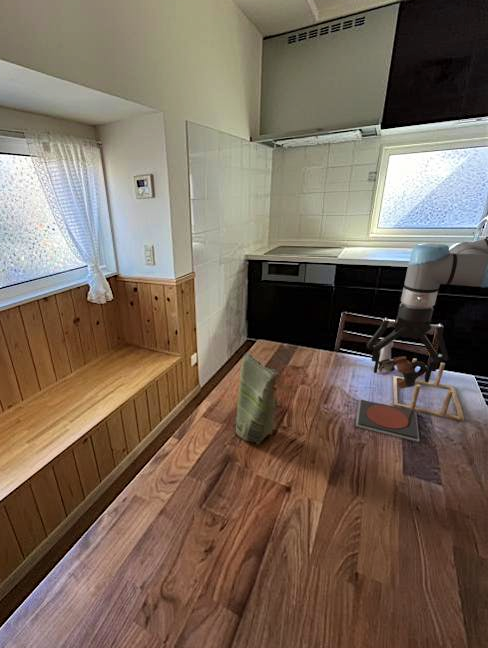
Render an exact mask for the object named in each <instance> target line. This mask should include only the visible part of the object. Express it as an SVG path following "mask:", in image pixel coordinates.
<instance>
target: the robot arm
mask: <svg viewBox="0 0 488 648" xmlns="http://www.w3.org/2000/svg"><path fill="white" fill-rule="evenodd" d="M441 285H450V286H463V287H465V286H466V287H476V288H477V287H479V288H488V237H486V238H483V239H479V240H475V241H472V242H468V241H462V242H457V243H455V244H452V245H451V246H449V245H447V244H444V243H435V242H427V243H426V242H424V243H418V244H416V245H414V246H413V248H412V250H411V254H410V258H409V261H408V264H407V269H406V274H405V279H404V283H403V288H402V293H401V296H400V302H401V303H399V307H398V311H397V315H396V319H389V318H388V317H383V319H382V322H381V325H380V326H379V328H378V329H377V330H376V332H375V333H374V334H373V335H372V337H370V340H369V341H368V342H367V343H366V349H367V350H370V351H372V355H371V362H373V363H374V362H375V366H374V365H373V374H377V373H378V372H377V368H378V364H379V359H380V354H381V349H382V348H384V347H385V346H386V345H388V344H389V343H390V342H392V341H393V342H394V341H395V340H396V339H398V338H400V337H402V338H410V339H413V340H414V339H415V340H417V339H419V340H420V341H421V342H422V343H423V345H424V347H425V348H426V350H427V352H428V353H429V355H430V357H429V358H428V363H427V365H426V367H427V370H426V372H425V373H424V378H423V379H424V381H425V382H430V378H431V374H432V372H436V371H437V370H438V367H439V365H440V364H441V362H448V361H450V358H449V355H448V350H447V346H446V343H445V339H444V330H445V328H444V325H443V324H442V323H438V324H431V321H432V317H433V312H434V307H435V305H436V301H437V296H438V293H439V291H440V286H441ZM391 326H393V327H394V328H395V329H393V331H392V332H391V333H389V334H388V335H386V336H385V337H384V338H382V339H383V340H382V339H381V340H380V338H381V337H382V336H383V334H384V333H385V332H386V330H387V328H391ZM429 331H432V332H433V334H435V335H436V338H437V339H436V340H437V342H438V346H439V349H440V353H439V354H438V352H437V350H436V349H435V347H434V346H433V344H432V342H431V341H430V340H429V338H428V336H427V334H426V333H428V332H429ZM379 340H380V341H379ZM378 341H379V342H378ZM439 363H440V364H439Z"/></svg>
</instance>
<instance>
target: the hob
mask: <svg viewBox="0 0 488 648" xmlns="http://www.w3.org/2000/svg"><path fill="white" fill-rule="evenodd" d="M356 412H357V413H356V420H355V428H360V429H364V430H367V431H372V432H375V433H379V434H383V435H388V436H391V437H396V438H400V439H403V440H407V441H411V442H415V443H420V441H421V440H420V433H419V423H418V422H419V421H418V414H417V411H414V410H409V409H404V408H400V407H395V406H394V405H389V404H388V405H387V404H384V403H379V402H375V401H369V400H365V399H359V400H358V405H357V411H356Z"/></svg>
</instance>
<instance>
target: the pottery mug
mask: <svg viewBox="0 0 488 648" xmlns="http://www.w3.org/2000/svg"><path fill="white" fill-rule="evenodd" d="M418 367H419V370H418V371H416V368H418ZM383 368H384V369H386V370H387V371H388V372H387V373H393V372H394V371H396V370H397V372H398V373H399V374H402V377H403V378H404V380H397V389H399V390H401V389H406V388H407V389H408V388H412V387H414V386H416V383H415V380H418V378H420V377H422V376H423V375H425V373H426V370H427V365H426V363H425V362H423V361H419V360H417V361H416V362H412V361H409V360H408V359H407V356H397V357H393V358H392V359H391V360H390V361H389V359H385V360H382V361H379V367H378V369H379V372H381V370H382V369H383Z"/></svg>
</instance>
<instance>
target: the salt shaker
mask: <svg viewBox="0 0 488 648" xmlns="http://www.w3.org/2000/svg"><path fill="white" fill-rule="evenodd" d="M383 339H384V338H382V339H381V340H383ZM394 345H395V343H394V340H393V341H392V342H390V343H389V344H388V345H386V346H385V347H384V348H382V349H381V354H380V359H379V361H382V360H385V359H389V361H390V360H392V348H393V347H394ZM374 366H375V362H374V361H373V367H374ZM378 367H379V364H378ZM377 373H378V374H383V375H384V374H387V373H389V372H388V371H387V370H386V369H384V368H383V369H382V370H381V372H379V369H378V368H377Z"/></svg>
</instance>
